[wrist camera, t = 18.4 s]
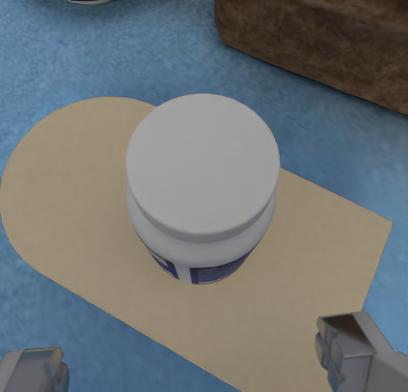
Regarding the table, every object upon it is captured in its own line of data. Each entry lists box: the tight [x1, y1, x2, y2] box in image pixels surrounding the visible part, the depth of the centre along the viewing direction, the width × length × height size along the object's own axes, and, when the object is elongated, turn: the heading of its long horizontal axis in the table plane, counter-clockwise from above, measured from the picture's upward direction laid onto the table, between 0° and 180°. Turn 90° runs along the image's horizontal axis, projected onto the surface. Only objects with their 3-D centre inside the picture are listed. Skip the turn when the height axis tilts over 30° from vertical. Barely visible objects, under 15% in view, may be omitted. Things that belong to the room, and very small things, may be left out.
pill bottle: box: [125, 93, 280, 285], centre depth 15 cm, size 6×6×10 cm
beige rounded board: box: [0, 96, 393, 392], centre depth 22 cm, size 22×12×5 cm, turn 62°
